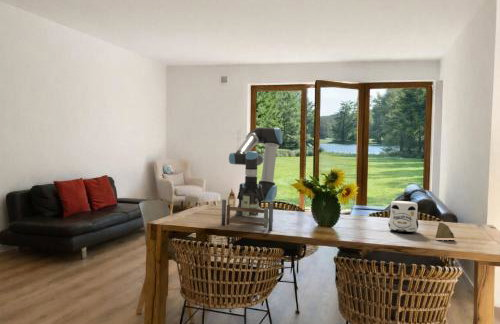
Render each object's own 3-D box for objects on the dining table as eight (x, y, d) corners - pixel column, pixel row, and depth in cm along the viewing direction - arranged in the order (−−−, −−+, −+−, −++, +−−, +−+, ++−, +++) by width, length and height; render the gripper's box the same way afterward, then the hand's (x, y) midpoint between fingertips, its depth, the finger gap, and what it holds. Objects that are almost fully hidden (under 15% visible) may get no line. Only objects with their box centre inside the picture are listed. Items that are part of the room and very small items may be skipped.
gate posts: (222, 225, 262) (223, 199, 261) (272, 230, 252) (273, 203, 252) (220, 225, 260) (221, 199, 259) (271, 230, 250) (272, 203, 249)
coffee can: (259, 214, 271) (260, 192, 270) (256, 217, 261) (257, 194, 260) (243, 213, 273) (244, 191, 272) (240, 216, 263) (240, 193, 262)
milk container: (397, 235, 250) (399, 204, 249) (382, 228, 267) (384, 200, 266) (423, 234, 253) (425, 204, 252) (407, 228, 270) (409, 200, 269)
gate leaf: (227, 224, 261) (227, 204, 260) (267, 227, 253) (268, 208, 252) (225, 224, 259) (226, 205, 258) (266, 228, 251) (267, 208, 251)
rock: (456, 235, 242) (438, 231, 247) (458, 225, 237) (439, 221, 242) (452, 249, 235) (433, 244, 240) (454, 239, 230) (434, 234, 235)
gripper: (232, 175, 265) (231, 210, 267) (266, 177, 259) (265, 213, 260) (236, 174, 273) (235, 208, 274) (270, 176, 266) (269, 211, 267)
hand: (250, 210), depth 267 cm, fingers closed on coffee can, 10 cm apart
